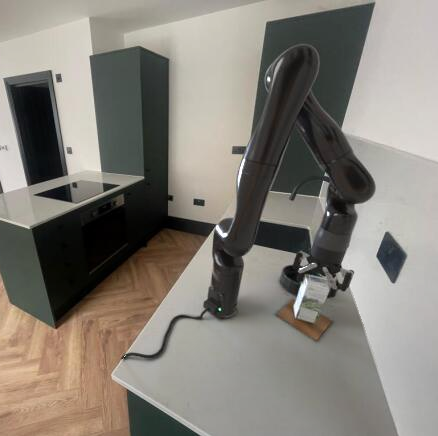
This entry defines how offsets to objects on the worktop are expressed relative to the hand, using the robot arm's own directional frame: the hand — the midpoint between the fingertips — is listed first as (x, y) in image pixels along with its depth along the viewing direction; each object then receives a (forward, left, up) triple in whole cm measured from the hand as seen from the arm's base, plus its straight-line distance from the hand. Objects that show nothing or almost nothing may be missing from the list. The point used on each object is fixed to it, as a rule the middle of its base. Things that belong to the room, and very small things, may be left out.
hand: (313, 289), depth 71 cm
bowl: (+15, +8, -12) cm, 21 cm away
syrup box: (0, 0, -11) cm, 11 cm away
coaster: (0, 0, -12) cm, 12 cm away
